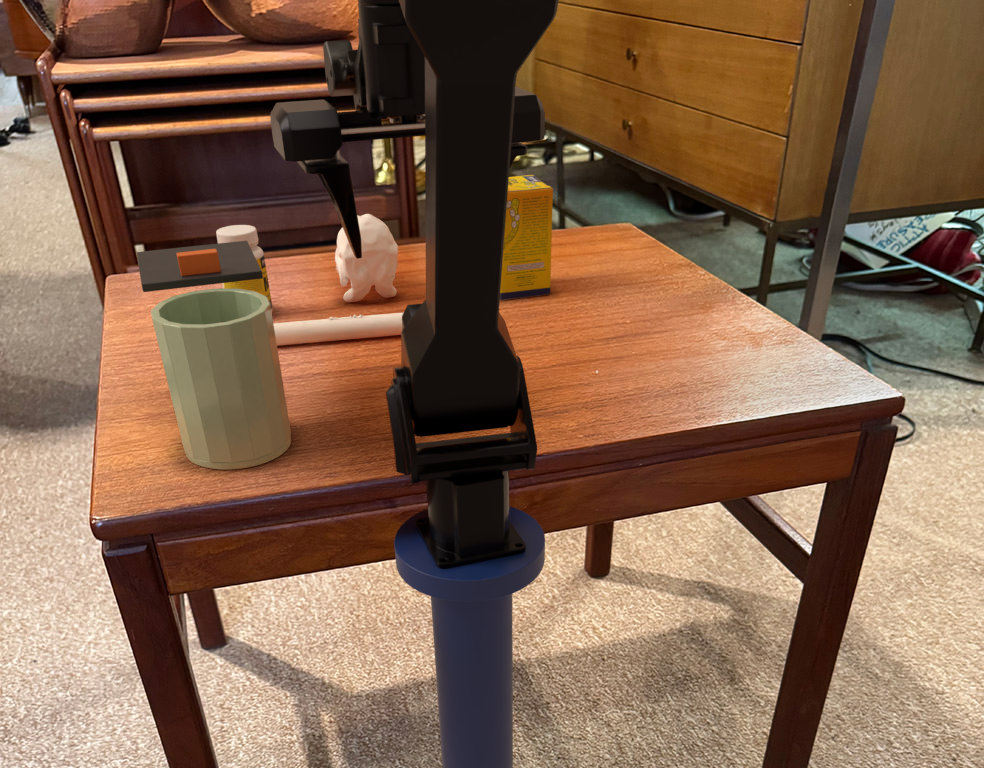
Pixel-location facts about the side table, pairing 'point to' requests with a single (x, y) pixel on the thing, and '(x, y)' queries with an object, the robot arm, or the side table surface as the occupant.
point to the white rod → (338, 328)
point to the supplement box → (527, 239)
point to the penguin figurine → (368, 260)
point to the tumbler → (224, 376)
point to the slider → (197, 266)
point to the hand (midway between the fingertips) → (416, 250)
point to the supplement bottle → (250, 235)
